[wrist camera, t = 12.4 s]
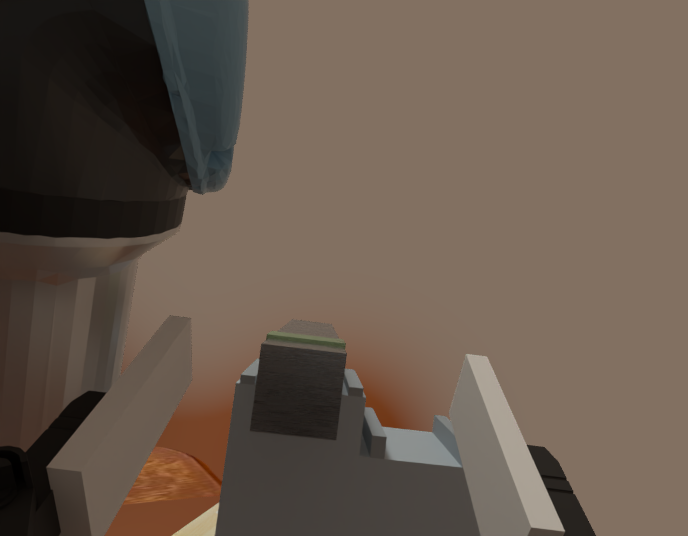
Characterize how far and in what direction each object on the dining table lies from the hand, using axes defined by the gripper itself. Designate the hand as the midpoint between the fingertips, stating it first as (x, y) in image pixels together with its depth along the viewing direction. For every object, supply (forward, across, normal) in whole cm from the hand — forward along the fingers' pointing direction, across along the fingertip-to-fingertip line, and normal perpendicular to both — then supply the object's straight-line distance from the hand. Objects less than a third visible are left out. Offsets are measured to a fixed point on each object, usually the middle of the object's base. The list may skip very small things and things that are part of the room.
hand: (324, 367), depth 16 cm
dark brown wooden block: (+13, -1, -11) cm, 17 cm away
